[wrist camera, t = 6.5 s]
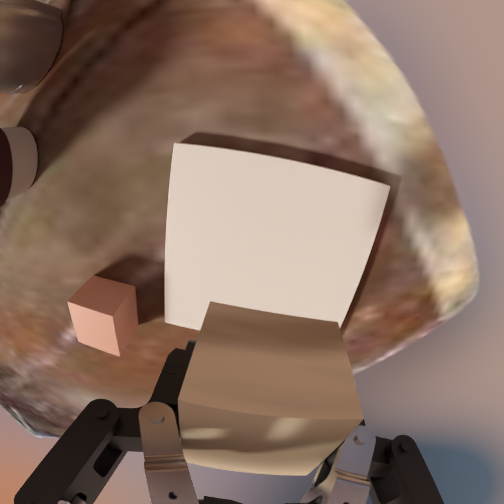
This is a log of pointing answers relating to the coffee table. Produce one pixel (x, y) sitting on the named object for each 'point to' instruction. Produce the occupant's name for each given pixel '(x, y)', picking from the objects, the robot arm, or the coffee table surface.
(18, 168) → the coffee cup
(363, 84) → the coffee table surface
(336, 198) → the base plate
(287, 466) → the maple block
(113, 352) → the terracotta block
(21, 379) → the coffee table surface
